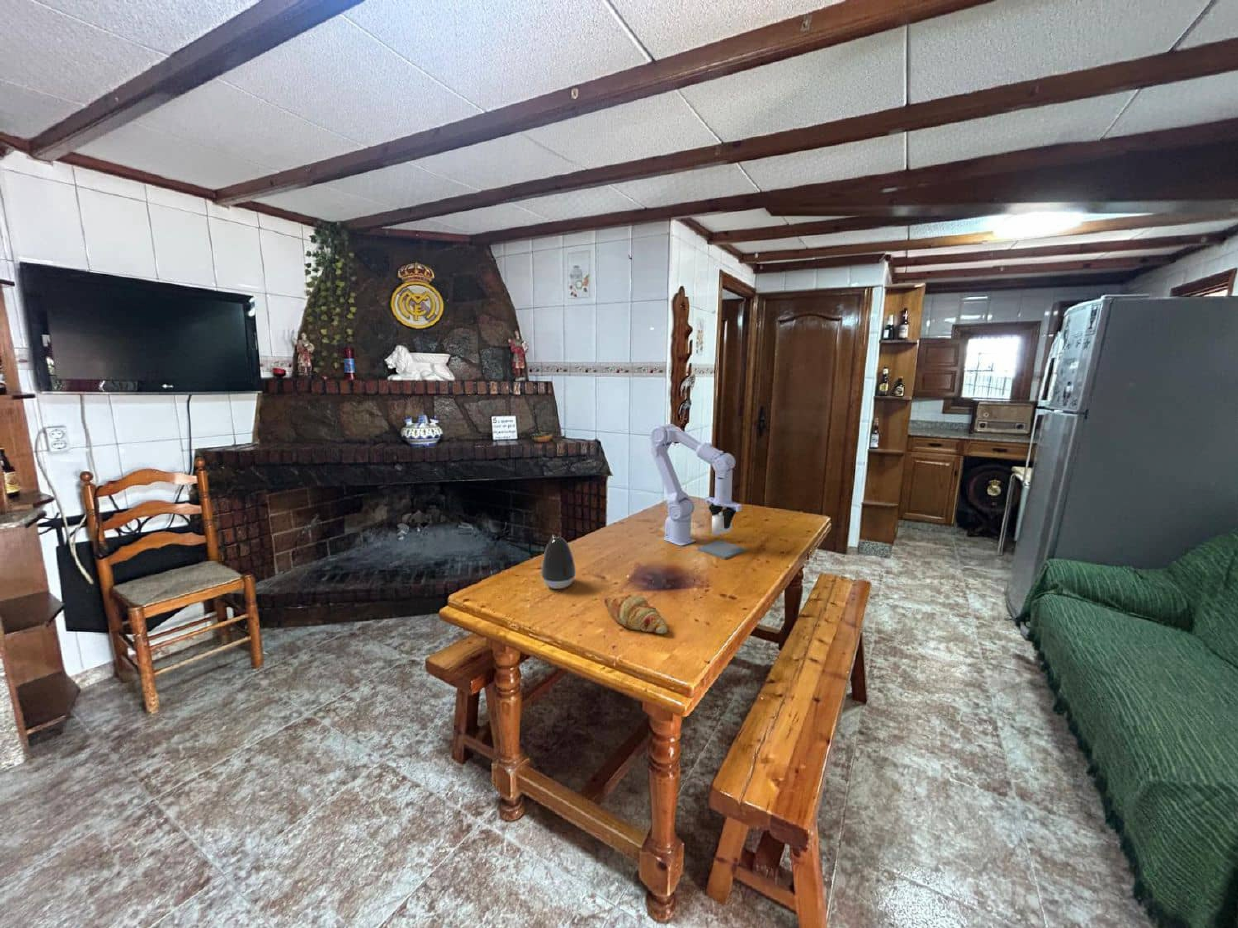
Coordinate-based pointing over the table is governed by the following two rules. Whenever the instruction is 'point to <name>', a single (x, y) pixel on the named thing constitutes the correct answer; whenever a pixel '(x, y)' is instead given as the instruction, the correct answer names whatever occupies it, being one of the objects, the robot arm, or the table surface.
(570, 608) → the table surface
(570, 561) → the dark grey egg shape
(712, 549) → the slate mat
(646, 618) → the croissant
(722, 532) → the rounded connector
